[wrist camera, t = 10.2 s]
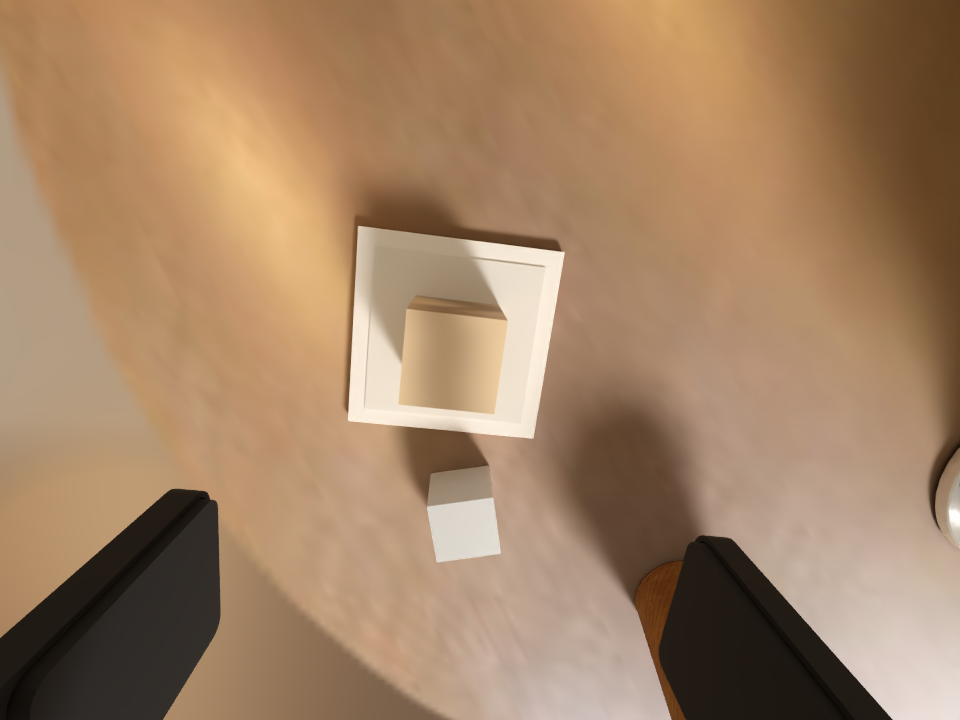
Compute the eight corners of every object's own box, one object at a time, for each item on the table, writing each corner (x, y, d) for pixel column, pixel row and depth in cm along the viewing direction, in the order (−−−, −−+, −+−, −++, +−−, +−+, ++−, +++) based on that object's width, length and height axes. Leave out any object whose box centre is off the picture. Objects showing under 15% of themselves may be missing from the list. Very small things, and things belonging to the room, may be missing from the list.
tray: (562, 252, 27) (565, 252, 27) (531, 434, 31) (533, 439, 30) (360, 226, 26) (357, 225, 26) (350, 417, 30) (347, 421, 29)
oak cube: (499, 305, 27) (507, 320, 23) (488, 384, 29) (494, 414, 24) (415, 295, 27) (406, 308, 22) (408, 375, 28) (398, 404, 23)
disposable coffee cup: (604, 642, 36) (674, 839, 24) (626, 537, 33) (717, 700, 22) (720, 647, 36) (843, 840, 25) (751, 545, 34) (904, 706, 22)
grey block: (488, 464, 31) (493, 497, 27) (495, 515, 32) (500, 553, 28) (430, 472, 31) (426, 506, 27) (439, 523, 32) (436, 562, 28)
